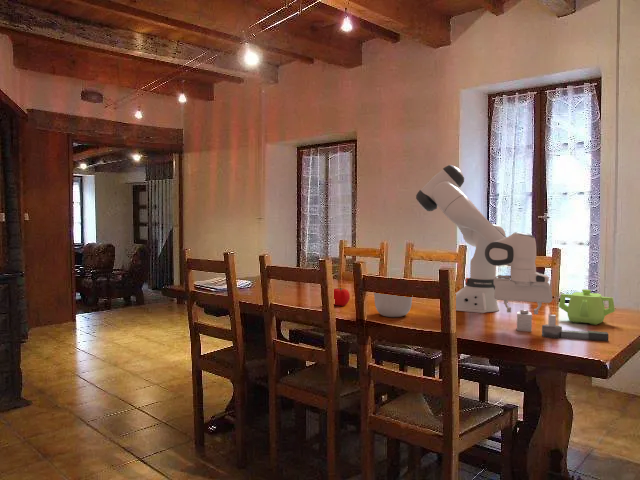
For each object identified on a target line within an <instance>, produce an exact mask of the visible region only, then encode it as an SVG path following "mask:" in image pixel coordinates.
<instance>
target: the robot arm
mask: <svg viewBox="0 0 640 480" xmlns="http://www.w3.org/2000/svg"><path fill="white" fill-rule="evenodd" d="M464 182H465V177H464V174H463V172H462V170H461V169H459V167H456V166H455V165H452V164H448V165H447V166H445V167H443V168H442V169H441V170H440V171H438V172H437V173H436V174H435V175H433V176H432V177H431V179H430V180H429V181H428V182H426V183H425V185H424V186H423V187H422V188H421V189H419V191H418V192H416V195H415V199H416V202H417V204H418V205H419V207H420V208H421V209H422V210H424V211H427V212H433V211H434V210H436V209H438V208H439V209H440V210H441V212H442V213H443V215H445V216H446V217H447V219H448V220H450V221H451V222H452V223H454V224H455V225H456V226H457V228H458V230H459V231H460V232H461V234H462V238H463V240H464V242H466V243H467V244H469V245H470V246H472V247H475V249H474V253H473V257H472V258H471V259H470V264H469V265H470V266H469V267H470V270H469V272H470V273H469V276H470V277H466V278H465V279H464V281H465V286H464V287H462V288H460V289H459V290H457V292H455V294H456V310H455V311H459V312H466V313H468V312H469V313H477V314H478V313H480V314H484V313H492V312H493V313H494V312H499V311H500V308H499V304H498V300H499V301H503V304H504V306H505V308H506V313H512V310H511V309H512V307H509V305H508V302H509V301H510V302H515V301H516V302H532V303H537V307H536V308H533V314H534V315H539V310H540V308H541V307H542V305H543V304H542V303H545V304H546V303H547V304H549V303H551V302H552V301H553V292H552V291H553V290H552V286H551V284H550V283H549V281H550V278H549V276H548V275H546V274H544V273H541V272H537V267H536V259H537V243H536V238H535V236H533V235H532V234H531V233H528V232H527V233H526V232H523V231H522V232H520V231H515V232H513V233H512V234H510V235H508V236H507V235H506V231H505V230H504V228H503V227H502V226H500V225H498V224H495V223H492V222H491V221H489V220H488V219H487V218H486V217H485V216H484V214H483V213H482V212H481V211H480V210H479V209H478V207H476V206H475V204H474V203H473V202H472V200H471V199H470V198H469V197H468V196H467V195H466V194H465V193H464V192H463V191H462V190H461V189H460V188H461V187H462V186H463V184H464ZM502 266H503V267H504V266H510V275H507V274H506V275H503V274H498V275H497V267H502Z"/></svg>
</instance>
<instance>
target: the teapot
mask: <svg viewBox="0 0 640 480" xmlns="http://www.w3.org/2000/svg"><path fill="white" fill-rule="evenodd" d="M581 290H582V292H581V291H575V292H572V294H571V293H569V294H568V293H561V294H560V298H559V303H558V308H560V309H561V310H563V311H565V312H566V314H567V317H568V319H569V321H570V322H573V323H575V324H580V323H585V324H590V325H593V326H594V325H596V326H597V325H598V324H601V323H602V322H604V319H605V318H606V316H608V315H609V314H612V313H614V312H615V311H616V308H615V301H614V297H613V296H612V297H609V296H602V294H601V293H597V292H596V293H593V292H592V290H591V289H586V288H585V289H584V288H583V289H581ZM566 298H567V299H569V301H568V305H567V304H566ZM604 301H605V302H607V301H608V308H605V304H604Z"/></svg>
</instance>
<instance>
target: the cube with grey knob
mask: <svg viewBox="0 0 640 480" xmlns="http://www.w3.org/2000/svg"><path fill="white" fill-rule="evenodd" d="M532 320H533V314H532V312H530V311H529V310H527V309H520V311H517V312H516V331H517V332H519V331H520V332H531V333H532Z"/></svg>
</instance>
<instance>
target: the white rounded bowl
mask: <svg viewBox="0 0 640 480" xmlns="http://www.w3.org/2000/svg"><path fill="white" fill-rule="evenodd" d="M373 295H374V297H373V298H374V306H375V309H376V311H377V312H378V313H379V314H380V315H381V316H383V317H387V318H399V317H403V316H406V315H407V314H409V312H410V311H411V308H412V305H413V296H412V297H404V296H396V295H387V294H379V293H374V292H373Z"/></svg>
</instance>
